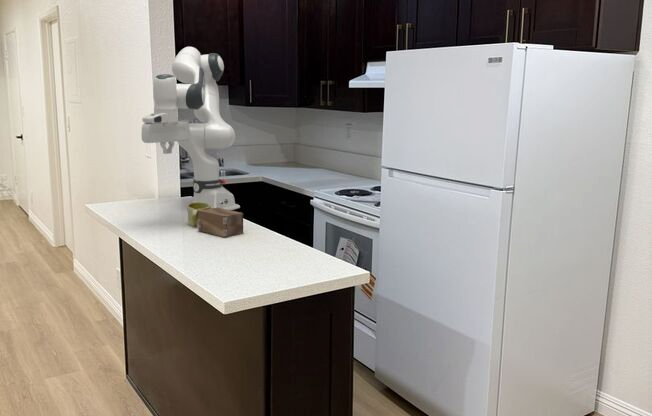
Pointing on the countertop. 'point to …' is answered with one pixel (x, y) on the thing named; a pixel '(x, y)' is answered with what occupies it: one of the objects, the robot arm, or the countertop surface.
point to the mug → (195, 211)
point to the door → (212, 223)
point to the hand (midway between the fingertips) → (167, 153)
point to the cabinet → (231, 220)
